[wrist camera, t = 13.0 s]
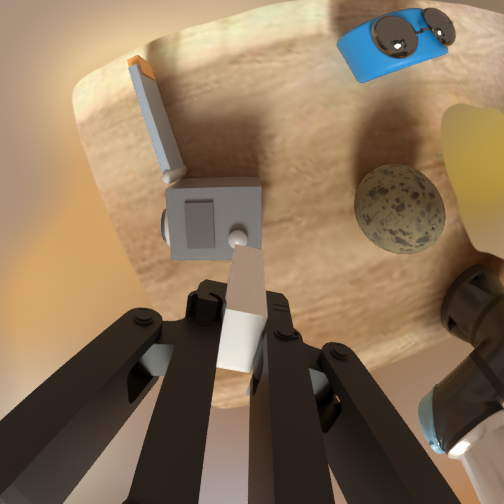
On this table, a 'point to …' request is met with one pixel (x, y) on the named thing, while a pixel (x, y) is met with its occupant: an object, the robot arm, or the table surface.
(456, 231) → the table surface
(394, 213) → the decorative egg
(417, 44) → the alarm clock
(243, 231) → the camera body
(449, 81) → the table surface
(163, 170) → the side door
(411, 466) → the robot arm
